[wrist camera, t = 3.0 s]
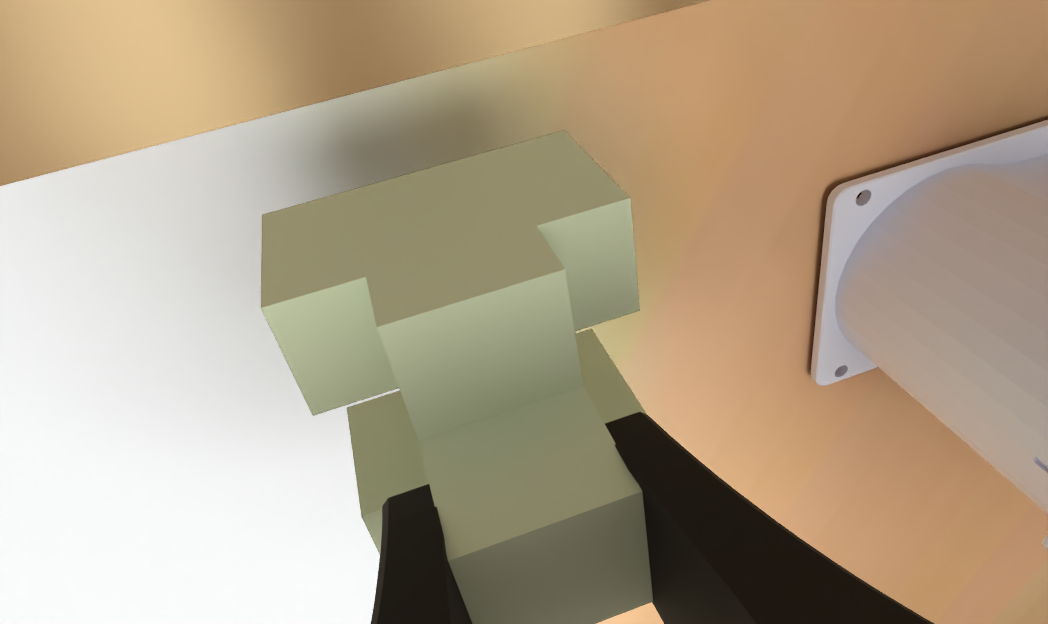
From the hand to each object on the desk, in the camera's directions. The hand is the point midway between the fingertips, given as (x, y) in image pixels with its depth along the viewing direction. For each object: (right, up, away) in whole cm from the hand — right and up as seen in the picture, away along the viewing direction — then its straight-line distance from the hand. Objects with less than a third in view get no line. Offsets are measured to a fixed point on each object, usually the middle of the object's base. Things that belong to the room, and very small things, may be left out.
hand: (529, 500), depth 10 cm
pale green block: (-1, +2, +4) cm, 5 cm away
